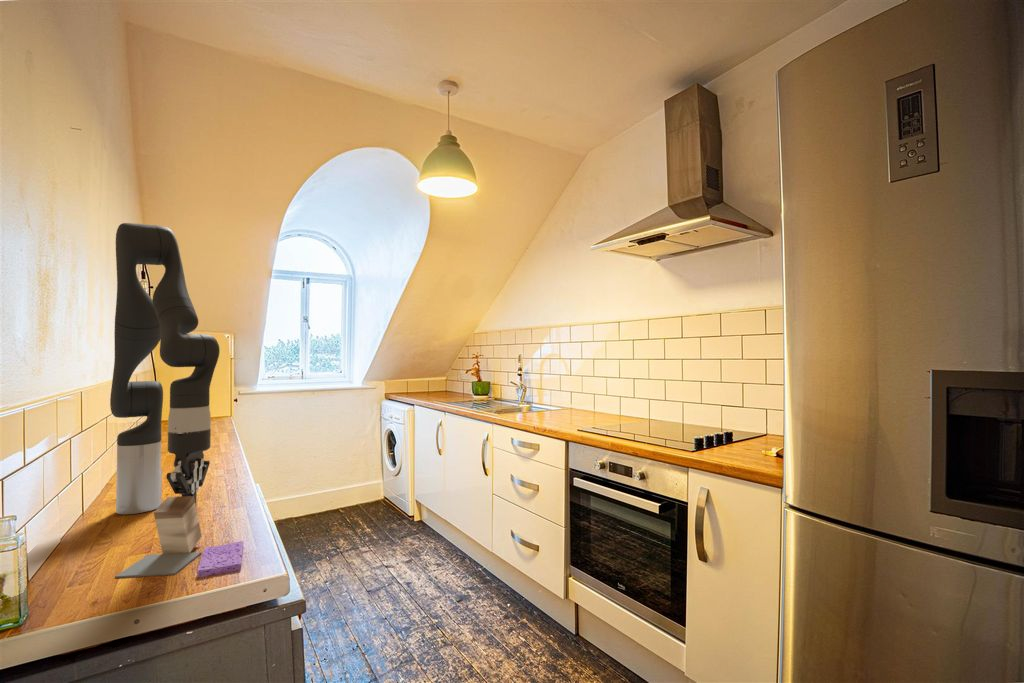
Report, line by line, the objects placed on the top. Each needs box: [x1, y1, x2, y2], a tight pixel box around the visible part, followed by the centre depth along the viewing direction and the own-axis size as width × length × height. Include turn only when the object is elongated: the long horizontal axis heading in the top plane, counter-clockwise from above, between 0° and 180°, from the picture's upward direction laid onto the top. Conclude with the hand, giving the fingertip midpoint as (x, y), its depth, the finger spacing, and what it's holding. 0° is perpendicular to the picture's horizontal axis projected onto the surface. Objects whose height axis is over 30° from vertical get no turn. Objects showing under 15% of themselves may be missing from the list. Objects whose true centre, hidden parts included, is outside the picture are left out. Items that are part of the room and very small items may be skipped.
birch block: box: [153, 495, 202, 554], centre depth 99 cm, size 5×5×10 cm
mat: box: [114, 551, 203, 579], centre depth 93 cm, size 10×10×1 cm
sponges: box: [196, 540, 244, 579], centre depth 95 cm, size 7×13×2 cm, turn 27°
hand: (188, 511), depth 103 cm, fingers closed
